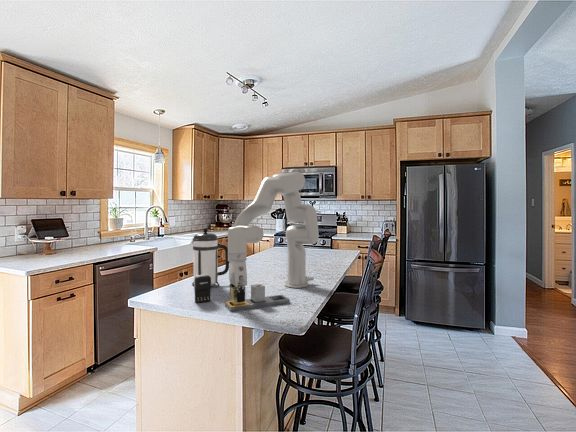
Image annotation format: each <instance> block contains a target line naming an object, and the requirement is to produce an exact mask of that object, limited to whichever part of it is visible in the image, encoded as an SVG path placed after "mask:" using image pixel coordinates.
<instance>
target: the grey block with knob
mask: <svg viewBox="0 0 576 432" xmlns="http://www.w3.org/2000/svg"><path fill="white" fill-rule="evenodd" d="M265 297H266V286H265V285H263V284H262V283H259V284H251V285H250V299H251V302H253V303H261V302H265Z"/></svg>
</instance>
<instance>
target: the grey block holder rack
mask: <svg viewBox="0 0 576 432" xmlns="http://www.w3.org/2000/svg"><path fill="white" fill-rule="evenodd" d="M290 301H291V299H290V298H288V297H287V296H286V295H283V294H276V295H269V296H265V302H261V303H253V302H251V298H245V302H244V304H243V305H236V306H232V305H231V302H230V300H229V301H225V302H224V307H226V308H227V310H228V311H229V312H238V311H244V310H251V309H258V308H265V307H272V306H279V305H285V304H286V305H287V304H290V303H291V302H290Z"/></svg>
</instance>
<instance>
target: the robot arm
mask: <svg viewBox="0 0 576 432" xmlns="http://www.w3.org/2000/svg"><path fill="white" fill-rule="evenodd" d="M305 178H306V177H305V176H304V174H303V173H302V172H299V171H295V172H293V171H291V172H278V173H275V174H273V175H271V176H270V175H269V176H266V177H264V178H263V180H262V181H261V184H260V186H259V187H258V188H259V189H258V190H257V193H256V195H255V197H254V199H253V200H252V203H250V204H249V205H248V206H247V207H246V208H244V209H243V210H242V211H241V212H240V213H239V214H238V216H237V217H236V219H235V221H234V223H233V226H231V227H228V229H227V248H228V261H229V270H228V271H229V272H228V279H229V287H237V290H238V292H237V302H245V299H246V286H247V285H248V273H247V263H246V261H247V244H259V243H260V242H261V241H262V240H263V238H264V230H263V229H262V228H261V227H260V226H257V225H249V224H250V223H251V222H252V221H254V220H255V219H256V218H259V217H260V216H261V217H262V216H263V215H265V214H267V213H269V212H270V211H271V209H272V207H273V205H274V203H275V200H276V197H277V196H278V195H282V197H283V201H284V202H283V203H284V209H285V215H286V219H287V221H288V222H289V223H292V225H289V226H288V227H287V228H286V230H285V239H286V246H287V273H286V274H287V278H286V279H287V281H285V282H284V286H285V287H287V288H292V289H299V288H300V289H302V288H303V289H304V288H306V287H308V286H309V285H310V284H309V281H310V282H311V281H314V280H315V278H314V276H307V275H306V272H307V271H306V270H307V269H306V265H307V261H306V260H307V259H306V258H307V254H306V252H307V251H306V249H305V246H304V245H315V244H317V242H318V241H319V235H320V234H319V224H318V215H317V211H316V208H315V207H314V206H313V205H311V204H303V202H302V198H301V194H300V191H301V190H302V189H303V188H304V187H305V184H306V179H305ZM303 224H304V225H303ZM239 287H240V289H239Z"/></svg>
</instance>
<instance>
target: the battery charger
mask: <svg viewBox="0 0 576 432" xmlns="http://www.w3.org/2000/svg"><path fill="white" fill-rule="evenodd" d="M193 282H194V286H193V291H194V302H195V303H206V302H210V301H211V292H212V291H211V287H212V285H211V277H210V276H209V275H198V276H196V277H195V279H194V278H193Z"/></svg>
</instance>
